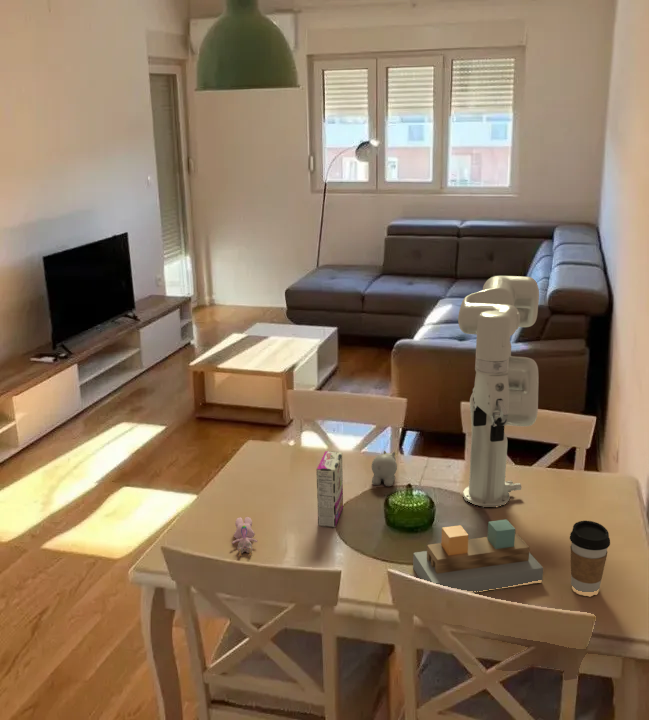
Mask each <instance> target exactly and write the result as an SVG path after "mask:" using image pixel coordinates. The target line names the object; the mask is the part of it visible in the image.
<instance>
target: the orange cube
mask: <svg viewBox="0 0 649 720" xmlns="http://www.w3.org/2000/svg"><path fill="white" fill-rule="evenodd" d="M468 539H469V534H468V533H467V531H466V530H465V529H464V528H463V526H462V525H459V524H458V525H452V526H444V527H441V540H440V541H441V542H440V543H441V546H442V547H443V548H444V550H445V551H446V553H447V554H448V555H456V554H463V553H468Z"/></svg>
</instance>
